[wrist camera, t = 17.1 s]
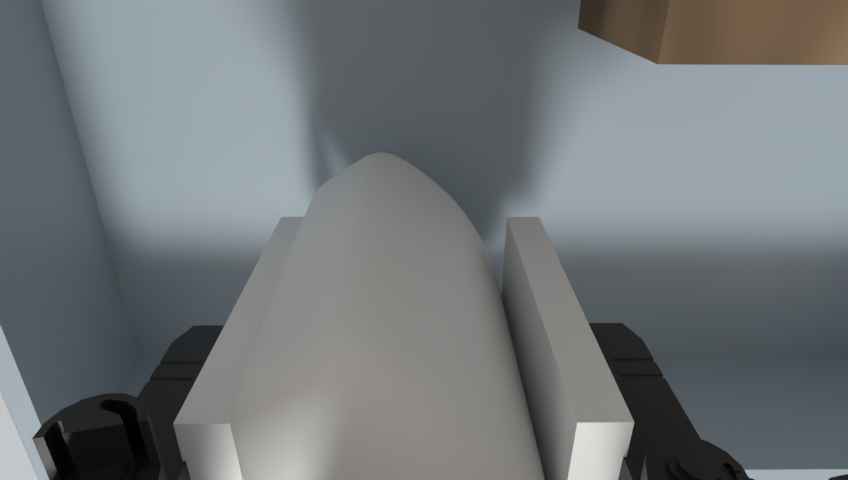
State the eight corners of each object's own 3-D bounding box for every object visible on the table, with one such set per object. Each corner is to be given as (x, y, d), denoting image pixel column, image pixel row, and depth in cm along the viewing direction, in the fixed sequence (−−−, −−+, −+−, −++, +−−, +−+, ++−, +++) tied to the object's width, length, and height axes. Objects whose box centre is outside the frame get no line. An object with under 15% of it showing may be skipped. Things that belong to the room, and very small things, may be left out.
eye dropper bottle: (342, 345, 16) (178, 1194, 5) (307, 150, 13) (-188, 1034, 2) (500, 333, 15) (683, 1182, 5) (496, 136, 13) (864, 993, 2)
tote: (1234, -347, 11) (1797, -555, 6) (896, 358, 19) (1047, 485, 14) (-73, -361, 11) (-426, -591, 6) (133, 360, 18) (42, 490, 14)
